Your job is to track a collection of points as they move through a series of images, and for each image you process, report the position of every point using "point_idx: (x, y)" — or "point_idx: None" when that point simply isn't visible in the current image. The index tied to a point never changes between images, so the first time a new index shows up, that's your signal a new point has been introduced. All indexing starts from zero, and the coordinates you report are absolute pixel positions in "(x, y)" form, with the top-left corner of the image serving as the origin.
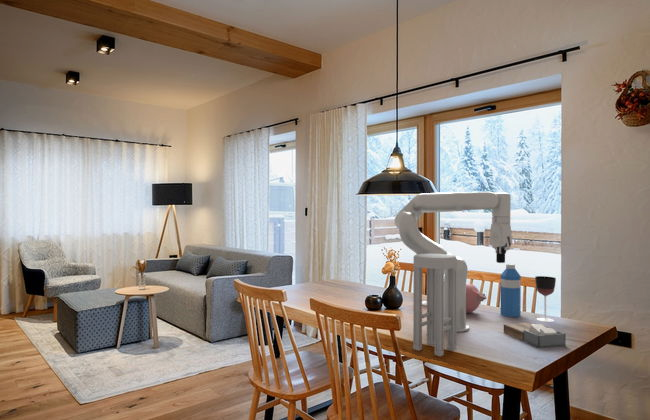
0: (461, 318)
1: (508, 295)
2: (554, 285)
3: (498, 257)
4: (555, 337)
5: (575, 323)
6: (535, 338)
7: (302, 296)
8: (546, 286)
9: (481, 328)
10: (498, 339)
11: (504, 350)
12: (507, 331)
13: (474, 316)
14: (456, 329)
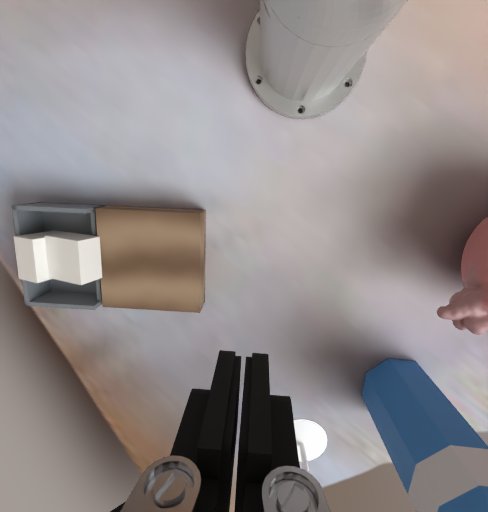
0: (260, 40)
1: (414, 423)
2: None
3: (211, 394)
4: None
5: None
6: (35, 205)
7: None
8: None
9: (272, 166)
10: (137, 137)
11: (27, 74)
12: (182, 210)
13: (430, 251)
14: (251, 24)
